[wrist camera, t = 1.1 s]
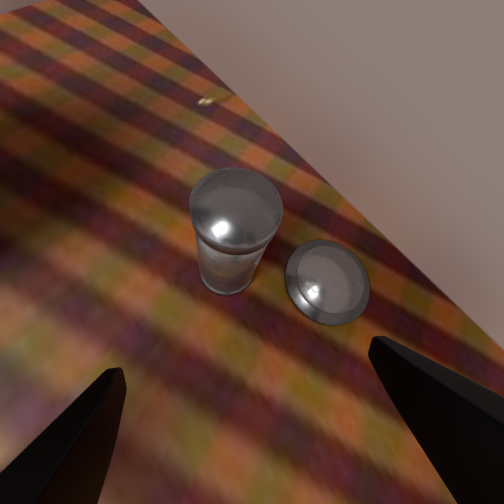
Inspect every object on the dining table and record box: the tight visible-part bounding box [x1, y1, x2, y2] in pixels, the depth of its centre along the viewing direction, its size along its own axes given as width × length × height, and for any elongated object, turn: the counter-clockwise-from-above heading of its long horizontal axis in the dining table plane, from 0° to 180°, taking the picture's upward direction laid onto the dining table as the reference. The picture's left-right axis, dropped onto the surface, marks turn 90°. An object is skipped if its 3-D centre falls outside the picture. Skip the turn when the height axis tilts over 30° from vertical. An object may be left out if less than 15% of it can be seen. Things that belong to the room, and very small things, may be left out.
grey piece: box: [189, 167, 283, 296], centre depth 18 cm, size 5×5×12 cm
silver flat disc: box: [284, 240, 370, 326], centre depth 24 cm, size 9×9×1 cm
